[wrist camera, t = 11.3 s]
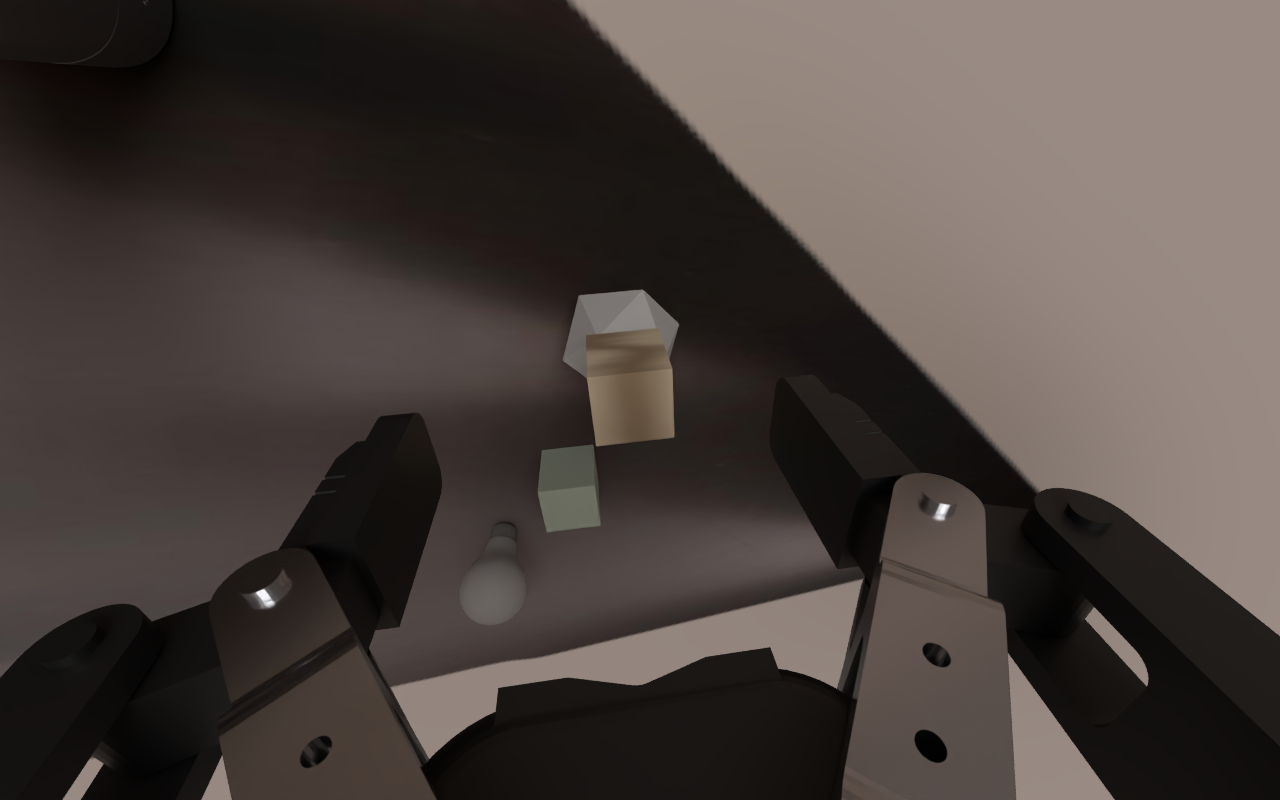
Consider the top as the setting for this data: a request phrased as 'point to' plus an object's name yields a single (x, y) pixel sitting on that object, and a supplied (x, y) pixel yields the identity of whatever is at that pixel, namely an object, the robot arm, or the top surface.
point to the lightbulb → (495, 580)
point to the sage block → (569, 488)
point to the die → (615, 321)
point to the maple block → (629, 386)
